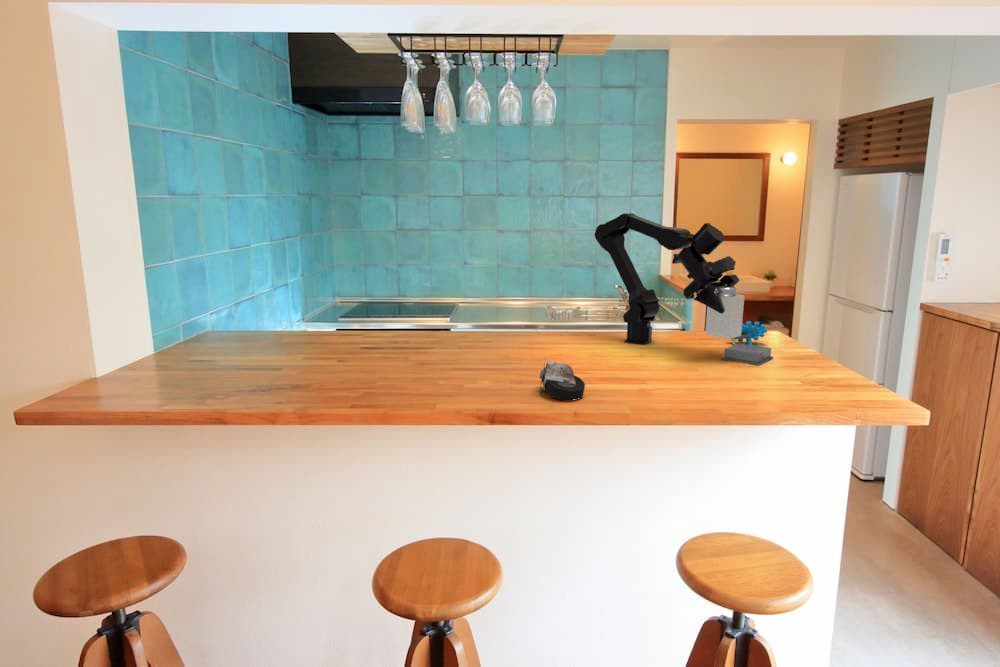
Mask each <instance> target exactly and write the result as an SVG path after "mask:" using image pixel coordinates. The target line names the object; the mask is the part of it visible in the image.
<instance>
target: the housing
mask: <svg viewBox="0 0 1000 667" xmlns="http://www.w3.org/2000/svg"><path fill="white" fill-rule="evenodd" d="M715 295H716V297H717V298H718V300H719V302H720V304H721V305H722V307H723V309H724V312H723V313H722V314H721V313H719V312H717V311H715V310H714V309H712V308H710V307H708V306H706V307H707V308H706V321H705V335H706V336H711V337H716V338H722V339H728V340H729V339H730V340H732V339H731V338H735V337H739V336H741V331H742V323H743V319H744V318H743V317H744V305H745V297H746V296H745V295H743V294H737V286H734V287H731V286H718V287H717V293H716V292H715Z"/></svg>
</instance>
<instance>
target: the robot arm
mask: <svg viewBox="0 0 1000 667" xmlns="http://www.w3.org/2000/svg"><path fill="white" fill-rule="evenodd" d="M630 230H632V231H635V232H637V233H639V234H642V235H644V236H647V237H650V238H652V239H653V240H656V241H657V242H658V244H659V245H660V246H662V247H663V248H665V249H667V250H669V251H677V250H681V251H679V252H678V253H673V257H672V261H671V264H673V265H675V264H681V265H682V266H683V268H684V269H685V270H686V271H687V273H688V275H686V278H688V280H691V279H692V281H691V282H690V283H689V284H687V285H686V286H685V288H683V293H682V294H683V296H684V298H686V300H687V301H688V300H694V301H695V302H698V303H700V304H702V305H705V306H706V307H707V306H708V307H710V308H712V309H714V310H715V311H717V312H719V313H721V314H722V313H723V312H724V309H723V307H722V305H721V304H720V302H719V300H718V298H717V297H716V295H715V293H717V287H718V286H731V287H735V285H737V284H738V283H739V282H740V281H741V280H740V278H739V277H738V275H737V274H735V273H733V274H725V275H723V274H724V273H727V272H729V271H734V270H735V266H736V260H734V258H733V257H732V256H725V257H721V259H719V260H716V261H707V260H706V259H705V257H704V255H706V256H709V255H711V254H712V253H713V252H714V251H715V250H716V249H717V248H718V247H719V246H720V245H721V244H722V243H723V242H724V241H725V235H724V233H723V232H722V231H721V230H719V229H718V228H717V227H715V226H713V225H712V224H711V223H710V222H705V223H703V224H702V226H701V227H700V228H699V230H698V231H697V232H696V233H695V234H693V233H691V231H689V230H688V229H687V228H681V227H674V226H666V225H665V226H664V225H662V224H660V223H657V222H654V221H652V220H649V219H646V218H645V217H641V216H639V215H636V214H635V213H633V212H631V213H630V212H626V213H622V214H620V215H618V216H617V217H614V218H613V219H610V220H608V221H606V222H605V223H601V224H599V225H597V227H596V228H595V232H594V237H595V240H596V241H597V242H596V243H598V244H599V246H600V247H601V248H602V249H603V250H604V251H606V252H607V253H608V254H609V256H610V258H611V259H612V262H613V265H614V266H615V269H616V270H617V273H618V275H619V277H620V279H621V281H622V282H623V285H624V287H625V289H626V291H627V293H628V300H627V303H628V307H629V308H628V310H627V311H625V312H624V314H623V315H622V318H623V321H624V323H627V326H626V339H625V340H624V342H625V343H633V344H640V345H646V344H648V343H650V342H651V341H653V327H652V326H651V325H652V324H651V323H652V322H654V321H655V319H656V315H658V313H659V310H660V303H659V302H660V299H659V298H658V297H657V294H656V292H655V290H654V289H647V288H646V287H645V285H644V284H643V282H642V280H641V278H640V276H639V274H638V273H637V270H636V268H635V266H634V264H633V262H632V260H631V257H630V256H629V254H628V252H627V250H626V247H625V240H626V239H625V237H626V236H625V235H626V234H627V233H629V231H630ZM695 295H696V297H695Z"/></svg>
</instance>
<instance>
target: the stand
mask: <svg viewBox="0 0 1000 667" xmlns="http://www.w3.org/2000/svg"><path fill="white" fill-rule="evenodd" d="M771 355H772V347H767V346H761V345H755V344H752V345H748V343H742V342H741V343H740V342H738V343H735V345H733V344H732V345H729V346H728V347H725V348H724V355H723V356H722V357H721V360H722V359H725V360H724V361H728V360H731V361H730V362H734V361H737V362H736V363H740V362H743V363H742V364H746V363H749V364H748V365H752V364H755V365H754V366H758V365H759V366H761V365H763V364H765V363H768V362H769V361H771V360H773V359H774V356H771ZM760 364H761V365H760Z"/></svg>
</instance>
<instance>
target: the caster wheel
mask: <svg viewBox="0 0 1000 667" xmlns="http://www.w3.org/2000/svg"><path fill="white" fill-rule="evenodd" d="M546 357H547V355H545V357H544V362H543V367H542V369H541V370H540V373H539V379H540V387H539V390H541V389H543V390H544V391H546V392H547V393H548V395H549V396H551V398H554V399H557V400H559V399H560V401H564V400H573V399H578V398H580V399H582V398H581V397H583V396H584V391H585V387H586V385H585V382H584V381H583V380H582V379H581V378H580V377H578V376H577V375H575V374H574V370H573V368H572V367H571V365H570V364H567V363H563V362H557V361H551V360H546V359H547V358H546ZM539 393H540V394H541V391H539ZM578 400H579V399H578Z"/></svg>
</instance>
